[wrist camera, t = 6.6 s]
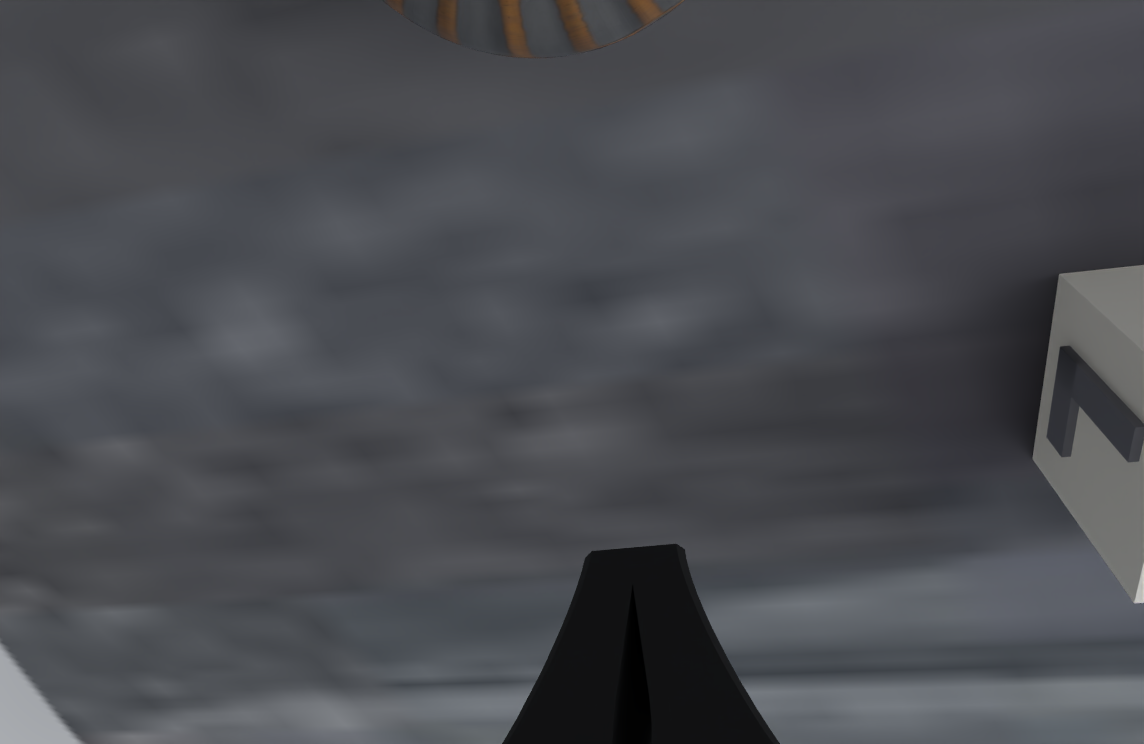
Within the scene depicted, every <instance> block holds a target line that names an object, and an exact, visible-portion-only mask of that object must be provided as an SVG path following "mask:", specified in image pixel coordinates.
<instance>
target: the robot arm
mask: <svg viewBox="0 0 1144 744" xmlns="http://www.w3.org/2000/svg"><path fill="white" fill-rule="evenodd" d="M502 744H780V743H779V742H778V740H777V739H776V737H775V736H774V734H773V733H772V731H771V730H770V728H769V727H768V725H767V724H766V722H765V721H764V719H763V718H762V716H761V714H760V713H759V711H758V710H757V708H756V707H755V705H754V703H753V702H752V700H751V698H750V697H749V695H748V693H747V692H746V690H745V688H744V687H743V685H742V683H741V682H740V680H739V678H738V676H737V675H736V673H735V671H734V669H733V667H732V666H731V664H730V662H729V660H728V658H727V656H726V654H725V652H724V650H723V648H722V646H721V644H720V643H719V641H718V639H717V637H716V635H715V633H714V631H713V629H712V627H711V625H710V622H709V620H708V618H707V616H706V614H705V611H704V609H703V607H702V604H701V602H700V599H699V597H698V595H697V592H696V589H695V587H694V584H693V581H692V578H691V575H690V572H689V568H688V564H687V560H686V554H685V549H683V548H682V547H680V546H679V545H677V544H669V545H657V546H646V547H634V548H623V549H611V550H600V551H592V552H591V553H590V554H589V555H588V556H587V557H586V558H585V561H584V565H583V569H582V572H581V576H580V579H579V582H578V585H577V588H576V591H575V594H574V597H573V599H572V602H571V605H570V607H569V610H568V612H567V615H566V617H565V620H564V622H563V625H562V627H561V629H560V632H559V634H558V636H557V638H556V641H555V643H554V645H553V647H552V650H551V652H550V654H549V656H548V659H547V661H546V663H545V665H544V667H543V669H542V671H541V673H540V676H539V677H538V679H537V681H536V683H535V685H534V687H533V689H532V691H531V693H530V695H529V697H528V698H527V700H526V702H525V704H524V706H523V708H522V710H521V712H520V714H519V716H518V717H517V719H516V721H515V723H514V725H513V726H512V728H511V730H510V731H509V733H508V735H507V737H506V738H505V740H504V742H503V743H502Z"/></svg>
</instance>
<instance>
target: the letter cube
mask: <svg viewBox="0 0 1144 744" xmlns="http://www.w3.org/2000/svg"><path fill="white" fill-rule="evenodd" d="M1032 459H1033V460H1034V462H1035V463H1036V465H1037V466H1038V468H1039V469H1040V470H1041V472H1042V473H1043V475H1044V476H1045V478H1046V479H1047V480H1048V482H1049V483H1050V485H1051V486H1052V487H1053V489H1054V490H1055V492H1056V493H1057V495H1058V496H1059V497H1060V499H1061V500H1062V502H1063V503H1064V505H1065V506H1066V507H1067V509H1068V510H1069V512H1070V513H1071V514H1072V516H1073V517H1074V519H1075V520H1076V522H1077V523H1078V524H1079V526H1080V527H1081V529H1082V530H1083V531H1084V533H1085V534H1086V536H1087V537H1088V539H1089V540H1090V541H1091V543H1092V544H1093V546H1094V547H1095V549H1096V550H1097V551H1098V553H1099V554H1100V556H1101V557H1102V558H1103V560H1104V561H1105V563H1106V564H1107V566H1108V567H1109V568H1110V570H1111V571H1112V573H1113V574H1114V576H1115V577H1116V578H1117V580H1118V581H1119V583H1120V584H1121V585H1122V587H1123V588H1124V590H1125V591H1126V593H1127V594H1128V595H1129V597H1130V598H1131V600H1132V601H1133V603H1144V265H1138V266H1128V267H1119V268H1110V269H1100V270H1091V271H1082V272H1073V273H1063V274H1059V278H1058V285H1057V292H1056V299H1055V306H1054V313H1053V320H1052V327H1051V334H1050V341H1049V348H1048V354H1047V361H1046V368H1045V375H1044V382H1043V389H1042V396H1041V403H1040V410H1039V417H1038V423H1037V430H1036V437H1035V444H1034V451H1033V458H1032Z"/></svg>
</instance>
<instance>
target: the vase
mask: <svg viewBox="0 0 1144 744" xmlns="http://www.w3.org/2000/svg"><path fill="white" fill-rule="evenodd" d="M383 1H384V2H385V3H386V4H388V5H389V6H390V7H391V8H393V9H394V10H396V11H397V12H398V13H400V14H401V15H403V16H404V17H406V18H407V19H409V20H410V21H412V22H414V23H415V24H417V25H419V26H420V27H422V28H424V29H426V30H428V31H430V32H432V33H434V34H436V35H438V36H440V37H442V38H444V39H446V40H449V41H451V42H454V43H456V44H459V45H461V46H465V47H468V48H471V49H474V50H477V51H481V52H486V53H490V54H495V55H501V56H508V57H518V58H552V57H562V56H569V55H574V54H580V53H584V52H588V51H592V50H595V49H599V48H602V47H605V46H608V45H610V44H613V43H616V42H618V41H621V40H623V39H625V38H627V37H629V36H632V35H634V34H636V33H637V32H639V31H641V30H643V29H645V28H646V27H648V26H650V25H652V24H653V23H655V22H656V21H658V20H659V19H661V18H662V17H664V16H665V15H667V14H668V13H669V12H670V11H672V10H673V9H674V8H676V7H677V6H678V5H679V4H681V3H682V2H683V1H684V0H383Z"/></svg>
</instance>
